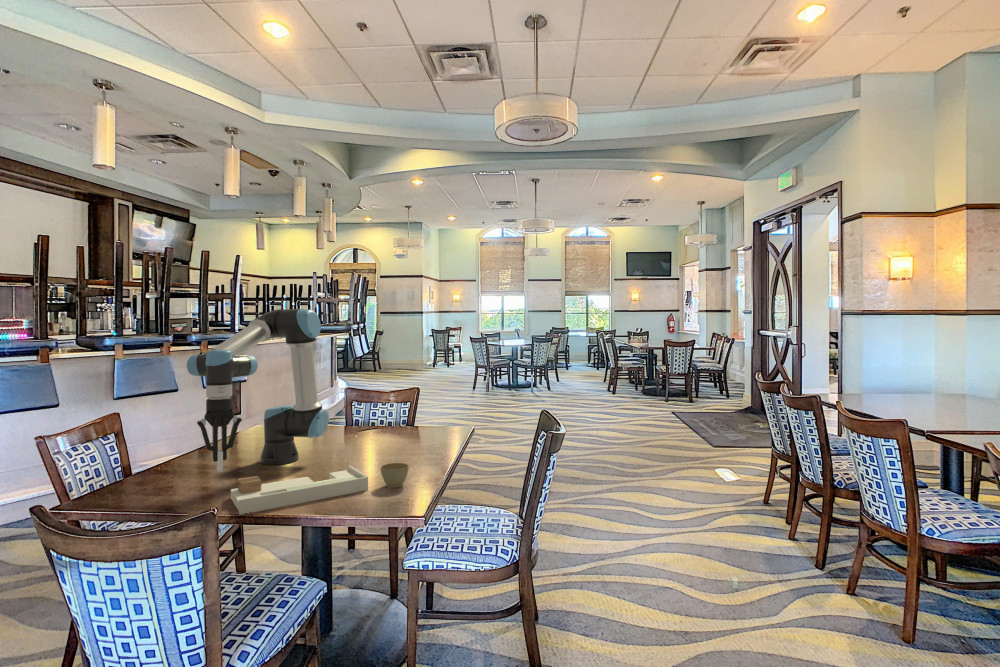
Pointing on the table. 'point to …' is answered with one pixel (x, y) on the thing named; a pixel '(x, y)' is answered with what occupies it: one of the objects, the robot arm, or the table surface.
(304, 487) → the tray
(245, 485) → the block
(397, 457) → the table surface
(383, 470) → the flower pot
